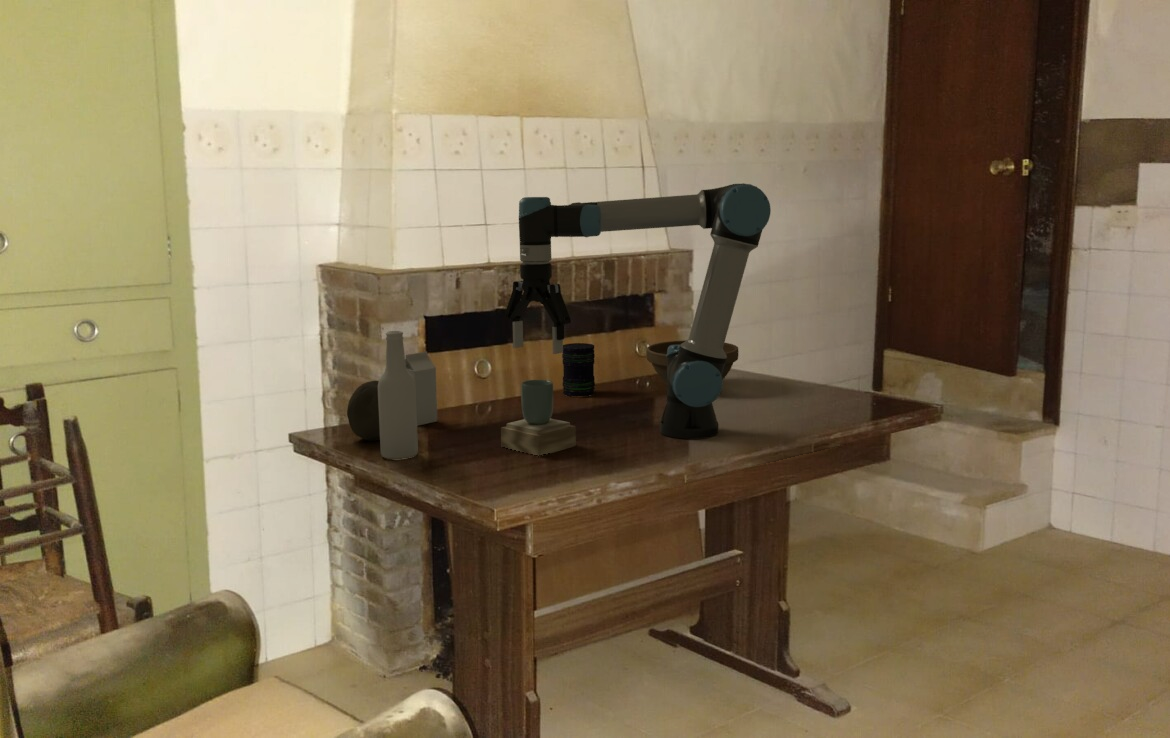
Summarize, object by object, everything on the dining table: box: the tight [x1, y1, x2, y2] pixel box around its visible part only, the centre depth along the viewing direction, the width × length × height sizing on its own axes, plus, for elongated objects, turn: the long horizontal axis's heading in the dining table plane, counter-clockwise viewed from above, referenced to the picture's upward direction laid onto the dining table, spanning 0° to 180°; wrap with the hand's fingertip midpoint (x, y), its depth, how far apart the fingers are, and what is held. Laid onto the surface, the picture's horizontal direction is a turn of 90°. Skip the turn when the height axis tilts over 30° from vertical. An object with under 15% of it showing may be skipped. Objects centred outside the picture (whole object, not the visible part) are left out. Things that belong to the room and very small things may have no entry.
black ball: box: [346, 380, 380, 442], centre depth 266 cm, size 14×14×15 cm
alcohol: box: [378, 330, 419, 459], centre depth 249 cm, size 9×9×30 cm
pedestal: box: [500, 417, 577, 457], centre depth 259 cm, size 13×13×6 cm
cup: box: [520, 379, 554, 424], centre depth 257 cm, size 8×8×10 cm
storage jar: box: [561, 342, 596, 397], centre depth 319 cm, size 10×10×15 cm
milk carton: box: [405, 351, 438, 427], centre depth 284 cm, size 7×7×19 cm
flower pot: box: [645, 339, 739, 385], centre depth 326 cm, size 28×28×13 cm
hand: (537, 350), depth 255 cm, fingers open, 13 cm apart
